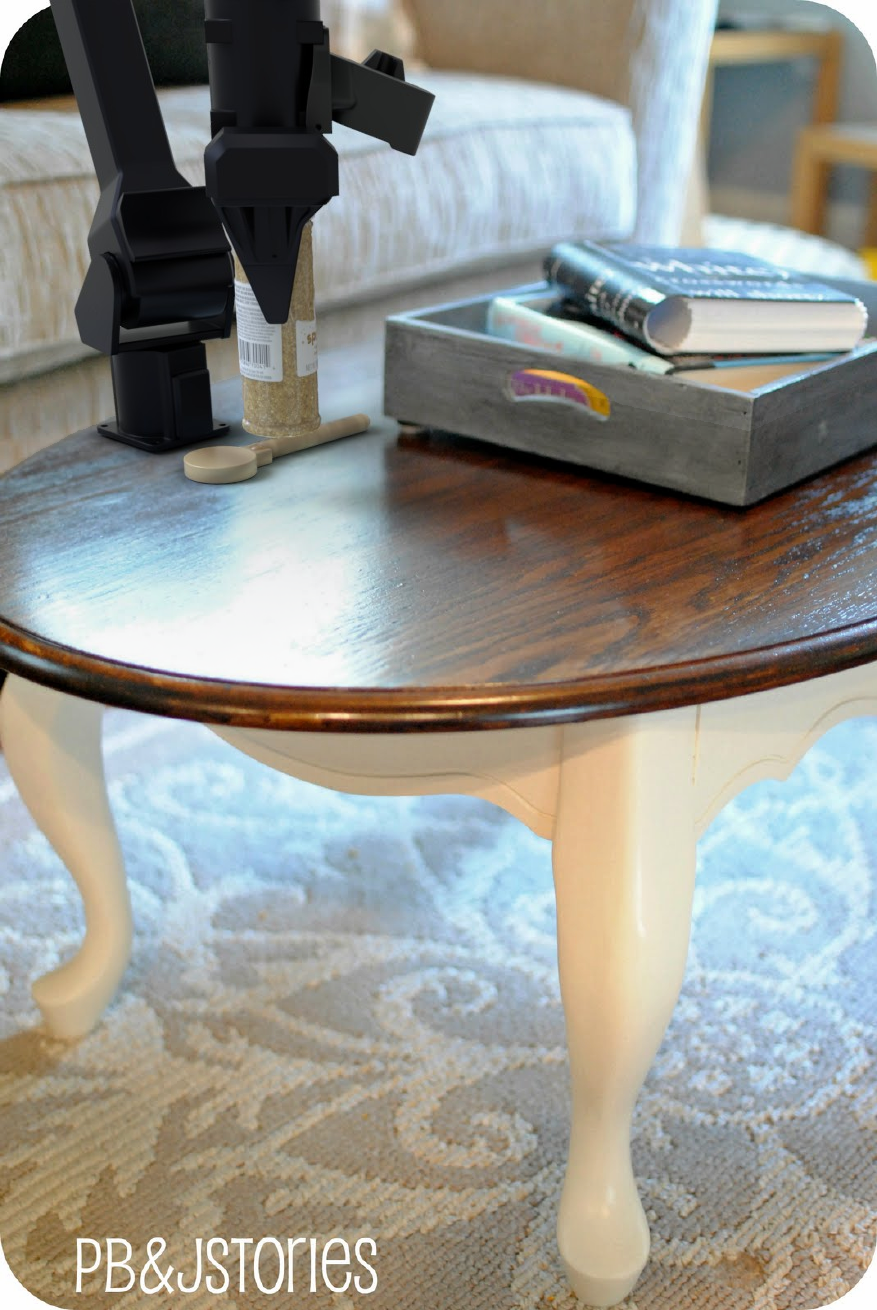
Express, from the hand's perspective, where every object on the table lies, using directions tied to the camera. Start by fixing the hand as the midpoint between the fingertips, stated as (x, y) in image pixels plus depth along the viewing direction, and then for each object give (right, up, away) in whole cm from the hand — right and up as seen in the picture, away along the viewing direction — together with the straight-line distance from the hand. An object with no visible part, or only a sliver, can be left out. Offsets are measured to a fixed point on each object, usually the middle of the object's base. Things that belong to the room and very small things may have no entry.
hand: (276, 314), depth 75 cm
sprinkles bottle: (0, -6, +3) cm, 7 cm away
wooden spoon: (-1, -6, +12) cm, 14 cm away
